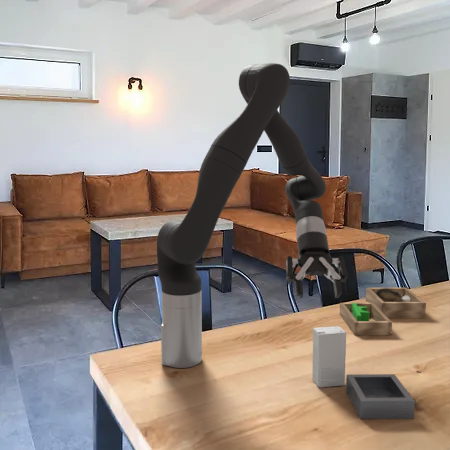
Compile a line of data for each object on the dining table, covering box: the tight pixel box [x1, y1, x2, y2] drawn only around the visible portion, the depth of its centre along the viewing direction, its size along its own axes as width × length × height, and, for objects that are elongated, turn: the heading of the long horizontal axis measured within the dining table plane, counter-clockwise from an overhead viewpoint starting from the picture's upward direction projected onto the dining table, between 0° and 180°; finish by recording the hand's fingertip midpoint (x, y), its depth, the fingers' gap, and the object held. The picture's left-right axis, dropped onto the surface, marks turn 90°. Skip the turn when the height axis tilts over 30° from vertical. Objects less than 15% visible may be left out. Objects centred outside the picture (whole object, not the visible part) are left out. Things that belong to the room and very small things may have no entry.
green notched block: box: [351, 302, 370, 321], centre depth 146 cm, size 11×4×5 cm, turn 173°
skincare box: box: [311, 325, 347, 388], centre depth 109 cm, size 6×4×12 cm
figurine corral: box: [365, 287, 427, 319], centre depth 158 cm, size 13×16×4 cm
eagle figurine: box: [376, 287, 410, 302], centre depth 158 cm, size 8×7×9 cm
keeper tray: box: [345, 373, 416, 420], centre depth 101 cm, size 10×11×4 cm
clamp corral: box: [339, 302, 393, 336], centre depth 146 cm, size 10×17×4 cm, turn 1°
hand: (319, 296), depth 119 cm, fingers open, 8 cm apart
